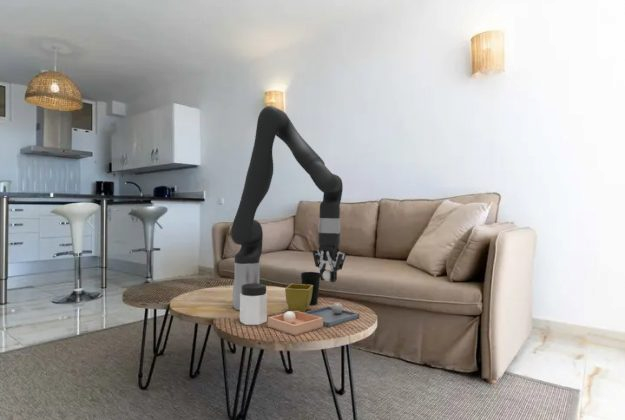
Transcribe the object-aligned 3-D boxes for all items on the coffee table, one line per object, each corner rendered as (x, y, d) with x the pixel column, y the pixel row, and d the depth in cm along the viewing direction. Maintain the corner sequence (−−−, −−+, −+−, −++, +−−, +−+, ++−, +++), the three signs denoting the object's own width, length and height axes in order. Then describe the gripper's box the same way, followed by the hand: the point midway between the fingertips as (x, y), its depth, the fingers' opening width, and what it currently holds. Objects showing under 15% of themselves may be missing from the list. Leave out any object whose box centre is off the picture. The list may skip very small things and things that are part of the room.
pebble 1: (319, 280, 137) (320, 269, 137) (327, 279, 140) (328, 268, 140) (328, 282, 134) (328, 271, 134) (336, 281, 137) (336, 269, 137)
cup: (319, 306, 154) (320, 275, 154) (300, 305, 154) (300, 274, 154) (319, 301, 161) (320, 272, 161) (301, 301, 162) (301, 271, 162)
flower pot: (308, 314, 141) (308, 289, 141) (284, 313, 143) (284, 288, 143) (313, 308, 150) (313, 284, 150) (290, 307, 152) (290, 283, 151)
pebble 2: (329, 313, 140) (329, 302, 140) (336, 312, 143) (336, 300, 143) (337, 316, 138) (338, 304, 138) (345, 314, 140) (345, 302, 140)
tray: (296, 318, 136) (296, 313, 136) (328, 310, 148) (328, 306, 148) (327, 327, 126) (328, 322, 126) (359, 317, 138) (359, 313, 138)
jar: (270, 323, 130) (271, 286, 130) (247, 327, 125) (247, 289, 125) (259, 316, 137) (259, 282, 137) (236, 320, 133) (237, 284, 133)
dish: (267, 326, 126) (268, 317, 126) (296, 319, 135) (296, 310, 135) (294, 336, 117) (294, 325, 117) (323, 327, 126) (323, 318, 126)
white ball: (281, 324, 128) (280, 311, 128) (290, 323, 130) (289, 310, 131) (289, 324, 125) (288, 311, 126) (298, 323, 128) (297, 310, 128)
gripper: (306, 230, 139) (305, 279, 139) (337, 233, 129) (336, 285, 129) (321, 230, 144) (320, 277, 145) (352, 232, 135) (351, 282, 135)
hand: (328, 280), depth 137 cm, fingers closed on pebble 1, 4 cm apart
